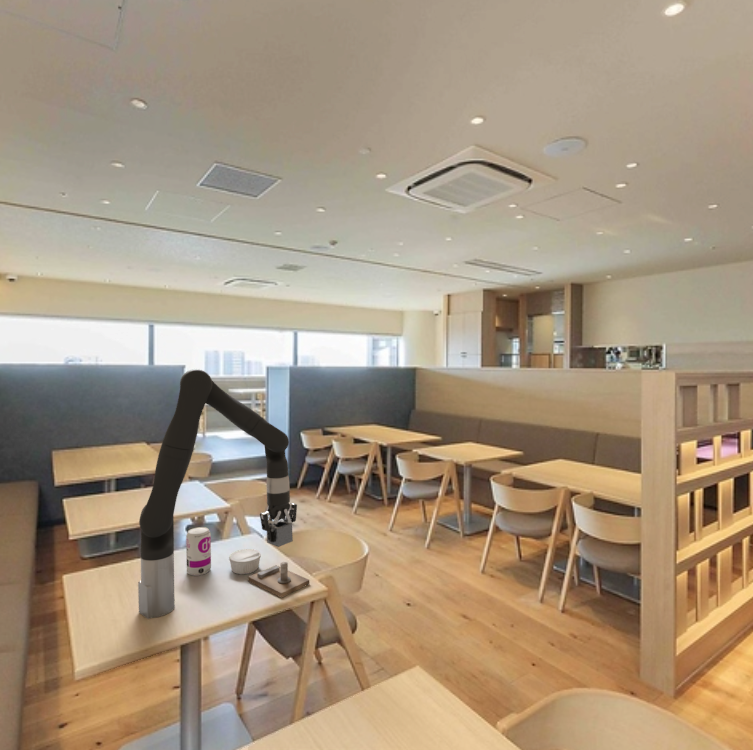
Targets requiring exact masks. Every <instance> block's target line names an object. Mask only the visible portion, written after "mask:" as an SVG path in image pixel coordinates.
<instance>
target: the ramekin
mask: <svg viewBox="0 0 753 750" xmlns="http://www.w3.org/2000/svg"><path fill="white" fill-rule="evenodd" d="M228 558H229V559H228V560H229V563H230V568H231V571H232V572H233V573H234V574H236V575H247V574H252V573H253V572H256V571H257V570H258V568H259V566H260V561H261V552H260V551H259V550H257V549H255V548H253V549H252V548H244V549H239V550H236V551H233V552H231V553H230V555H229V557H228Z"/></svg>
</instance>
